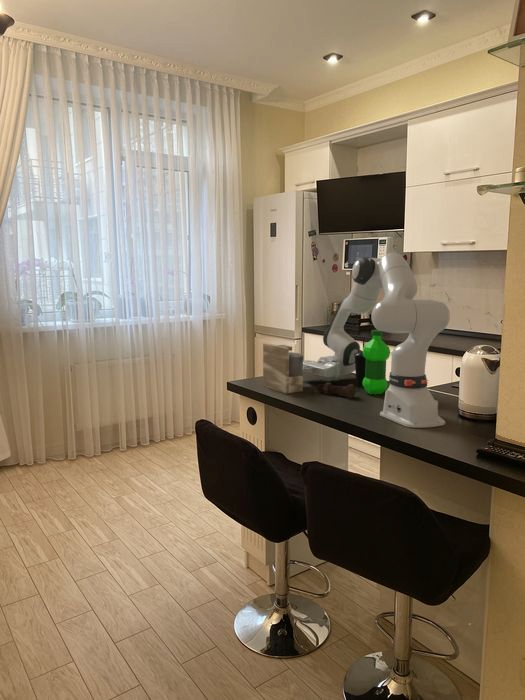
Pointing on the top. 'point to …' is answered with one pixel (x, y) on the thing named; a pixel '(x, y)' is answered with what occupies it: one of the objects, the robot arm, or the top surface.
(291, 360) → the pillar candle
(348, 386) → the bolt
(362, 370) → the drinking cup
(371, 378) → the plastic bottle
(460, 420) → the top surface
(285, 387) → the cradle
